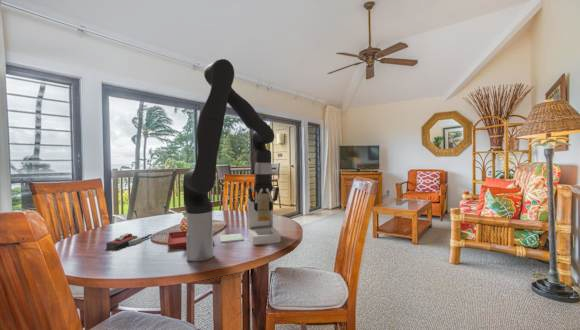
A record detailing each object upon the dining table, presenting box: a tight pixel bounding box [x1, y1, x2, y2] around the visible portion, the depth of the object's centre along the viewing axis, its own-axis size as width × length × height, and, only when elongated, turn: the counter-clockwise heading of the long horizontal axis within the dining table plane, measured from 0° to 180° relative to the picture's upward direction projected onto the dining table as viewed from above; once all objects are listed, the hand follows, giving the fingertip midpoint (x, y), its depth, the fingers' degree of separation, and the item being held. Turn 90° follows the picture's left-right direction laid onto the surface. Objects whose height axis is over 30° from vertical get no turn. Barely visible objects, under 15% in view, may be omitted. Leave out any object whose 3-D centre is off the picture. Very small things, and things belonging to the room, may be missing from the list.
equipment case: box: [246, 198, 281, 246], centre depth 125 cm, size 12×15×18 cm
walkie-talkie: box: [105, 232, 153, 250], centre depth 122 cm, size 9×4×20 cm
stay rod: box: [270, 211, 272, 227], centre depth 131 cm, size 1×2×11 cm, turn 17°
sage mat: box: [219, 233, 244, 244], centre depth 126 cm, size 10×10×1 cm
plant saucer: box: [166, 230, 187, 250], centre depth 122 cm, size 18×18×3 cm
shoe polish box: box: [256, 193, 269, 221], centre depth 122 cm, size 5×5×12 cm
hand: (263, 210), depth 122 cm, fingers closed on shoe polish box, 5 cm apart
